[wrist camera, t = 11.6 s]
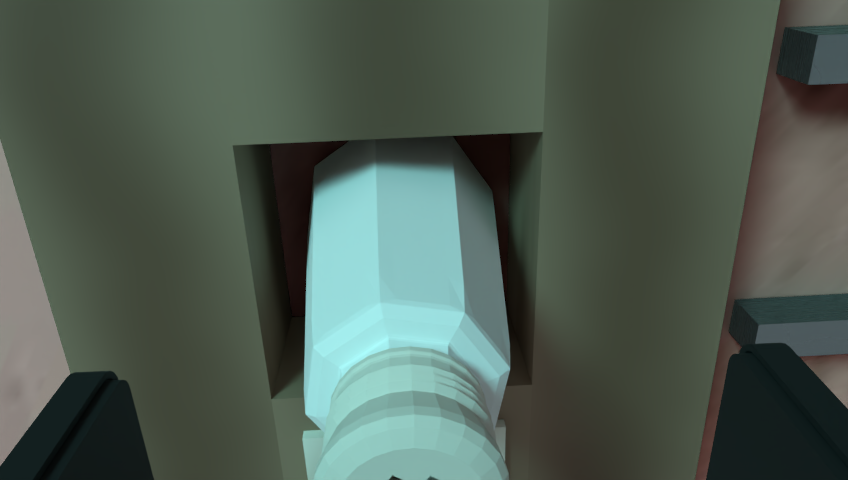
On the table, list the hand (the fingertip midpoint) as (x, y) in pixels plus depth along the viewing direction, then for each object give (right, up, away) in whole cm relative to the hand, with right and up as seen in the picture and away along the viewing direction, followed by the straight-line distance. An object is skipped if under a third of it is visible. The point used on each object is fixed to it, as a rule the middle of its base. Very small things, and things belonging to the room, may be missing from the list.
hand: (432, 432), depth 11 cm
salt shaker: (-1, +4, +9) cm, 10 cm away
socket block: (-1, +4, +9) cm, 10 cm away
